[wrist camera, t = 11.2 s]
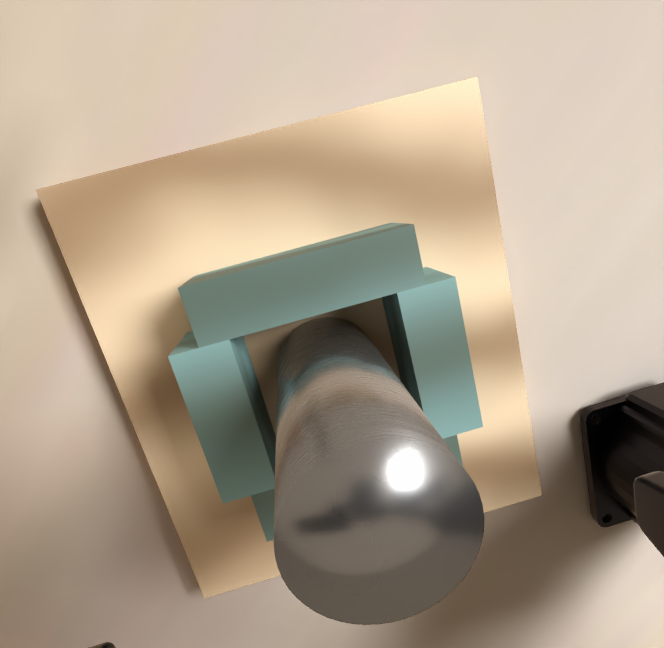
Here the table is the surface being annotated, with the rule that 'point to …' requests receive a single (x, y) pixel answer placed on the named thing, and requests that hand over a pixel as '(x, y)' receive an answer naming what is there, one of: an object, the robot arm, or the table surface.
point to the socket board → (272, 213)
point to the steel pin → (364, 484)
